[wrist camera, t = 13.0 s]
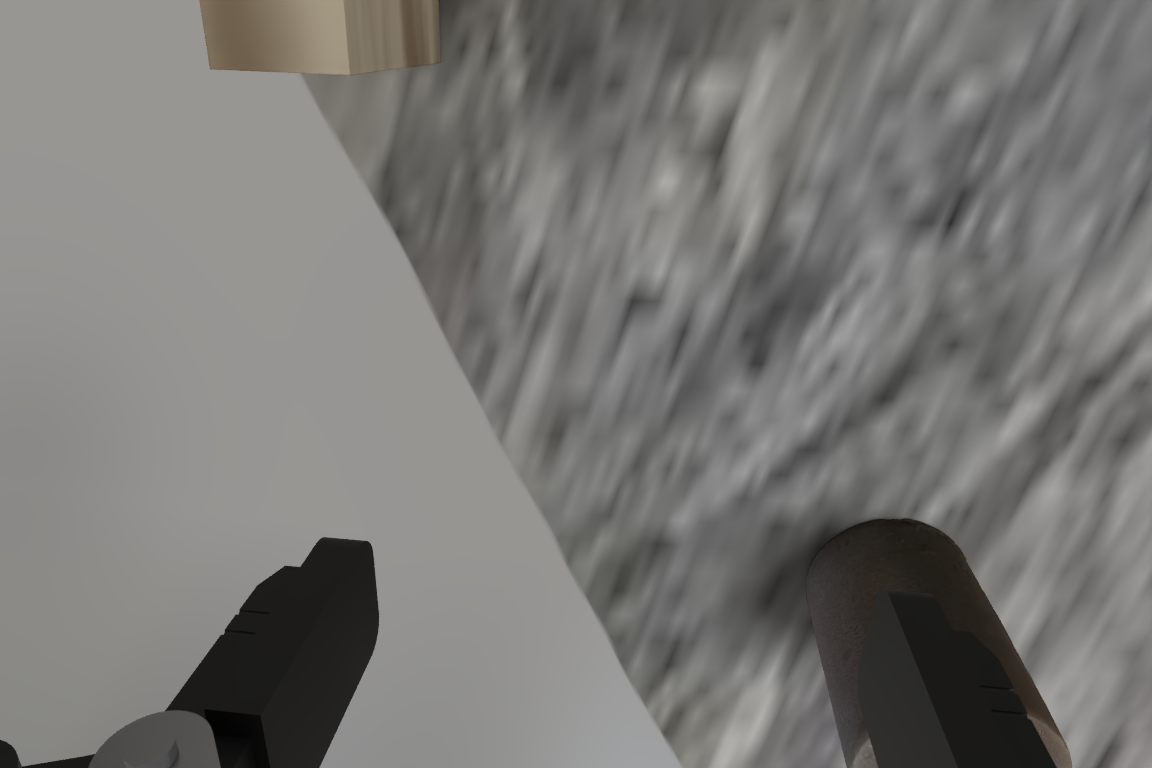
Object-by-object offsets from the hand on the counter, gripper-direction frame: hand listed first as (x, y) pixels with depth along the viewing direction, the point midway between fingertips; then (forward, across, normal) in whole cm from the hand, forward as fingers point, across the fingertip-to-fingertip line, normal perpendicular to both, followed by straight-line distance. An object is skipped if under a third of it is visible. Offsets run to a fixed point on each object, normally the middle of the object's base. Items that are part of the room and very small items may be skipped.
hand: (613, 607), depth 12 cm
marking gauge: (+30, +13, -13) cm, 35 cm away
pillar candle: (+30, -16, +22) cm, 41 cm away
